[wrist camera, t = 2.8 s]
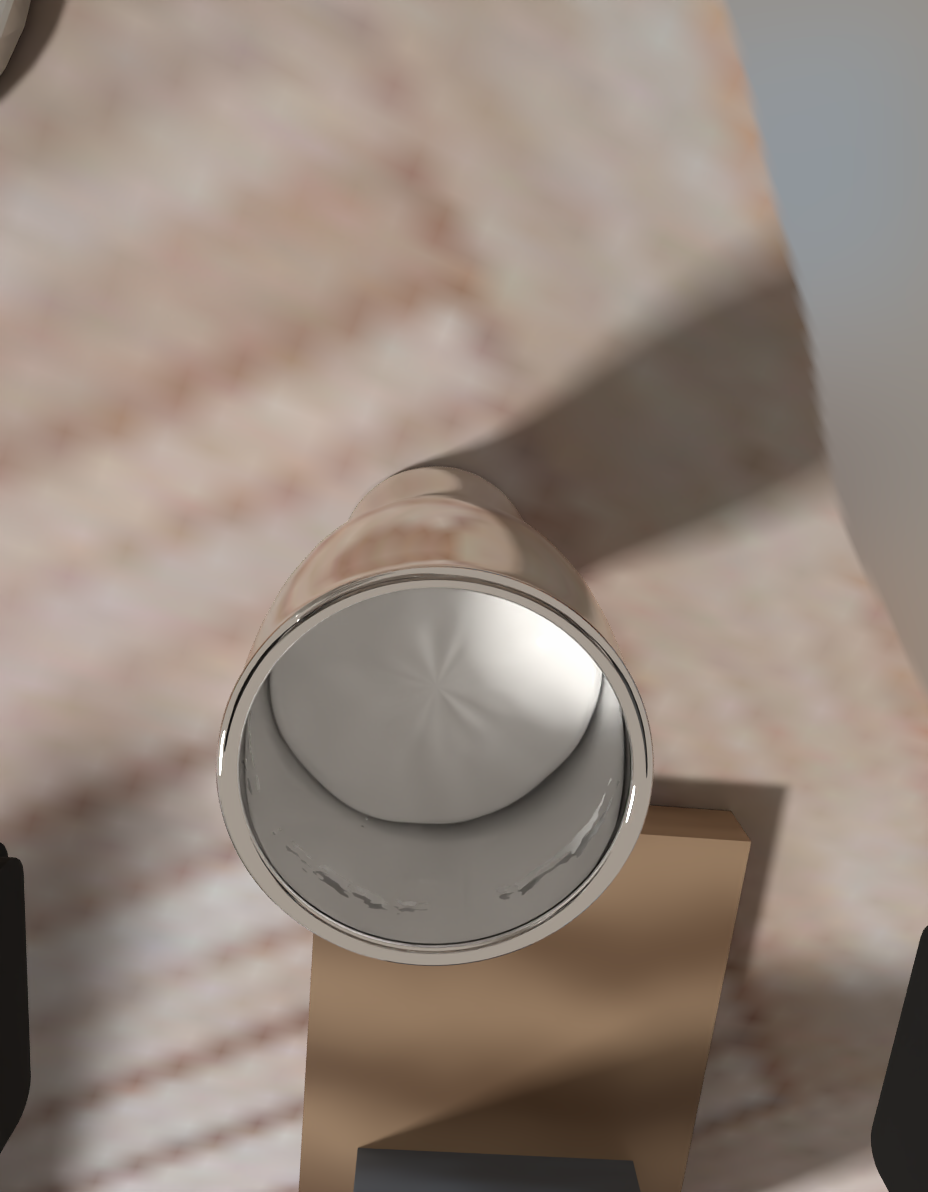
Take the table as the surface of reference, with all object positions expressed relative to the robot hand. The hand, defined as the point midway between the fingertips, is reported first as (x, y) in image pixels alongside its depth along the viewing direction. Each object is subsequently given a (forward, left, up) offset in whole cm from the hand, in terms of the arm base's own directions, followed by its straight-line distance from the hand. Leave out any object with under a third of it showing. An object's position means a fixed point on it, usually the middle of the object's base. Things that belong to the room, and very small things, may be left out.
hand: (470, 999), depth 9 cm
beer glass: (0, 0, -19) cm, 19 cm away
